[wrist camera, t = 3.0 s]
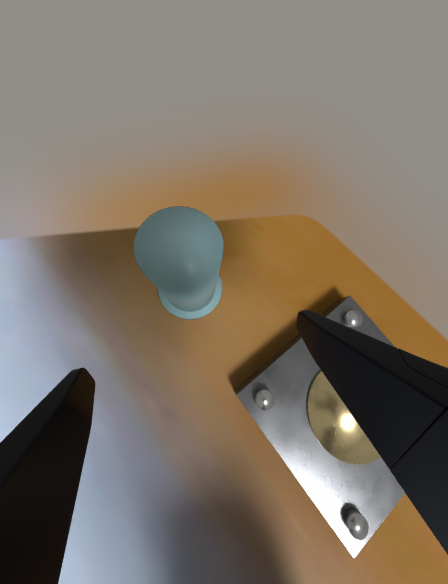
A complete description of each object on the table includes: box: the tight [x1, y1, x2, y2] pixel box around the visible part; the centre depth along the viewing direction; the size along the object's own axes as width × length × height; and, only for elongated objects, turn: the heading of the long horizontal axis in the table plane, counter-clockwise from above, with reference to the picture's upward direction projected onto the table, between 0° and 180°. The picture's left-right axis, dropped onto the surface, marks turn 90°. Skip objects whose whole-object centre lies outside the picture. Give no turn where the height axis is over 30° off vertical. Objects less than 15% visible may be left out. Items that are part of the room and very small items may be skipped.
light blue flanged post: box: [134, 206, 224, 320], centre depth 16 cm, size 6×6×10 cm
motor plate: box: [234, 296, 405, 558], centre depth 19 cm, size 15×15×2 cm
